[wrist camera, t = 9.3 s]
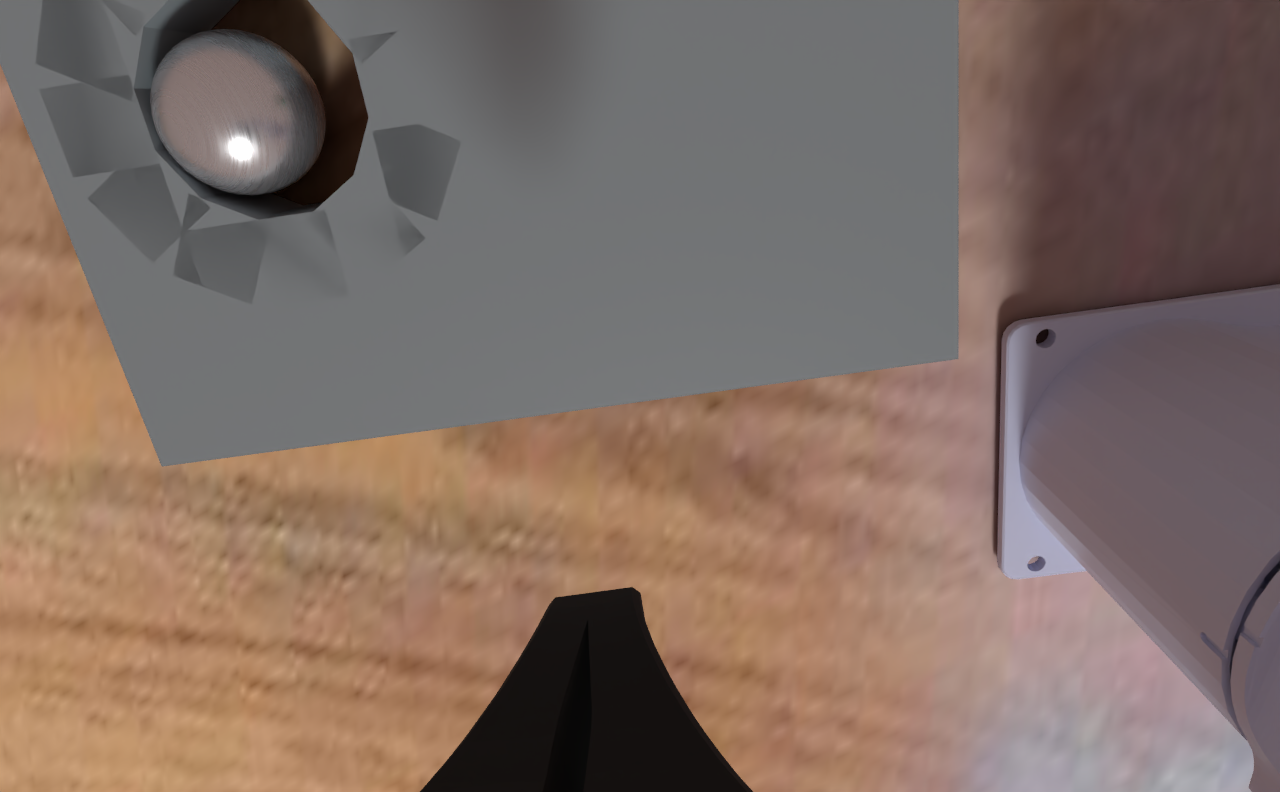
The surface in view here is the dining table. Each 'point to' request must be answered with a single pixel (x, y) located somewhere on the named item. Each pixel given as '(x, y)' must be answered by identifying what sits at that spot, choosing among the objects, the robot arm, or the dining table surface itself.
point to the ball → (238, 111)
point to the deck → (514, 211)
